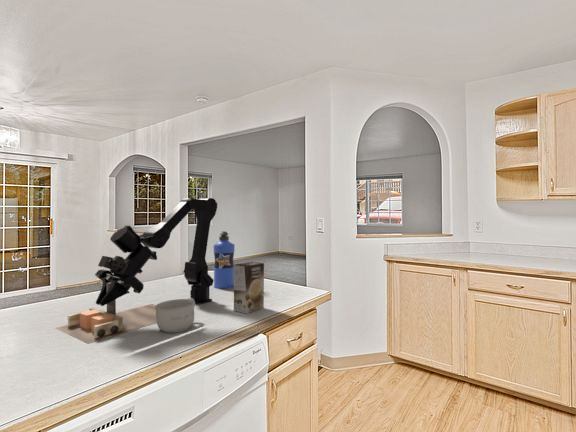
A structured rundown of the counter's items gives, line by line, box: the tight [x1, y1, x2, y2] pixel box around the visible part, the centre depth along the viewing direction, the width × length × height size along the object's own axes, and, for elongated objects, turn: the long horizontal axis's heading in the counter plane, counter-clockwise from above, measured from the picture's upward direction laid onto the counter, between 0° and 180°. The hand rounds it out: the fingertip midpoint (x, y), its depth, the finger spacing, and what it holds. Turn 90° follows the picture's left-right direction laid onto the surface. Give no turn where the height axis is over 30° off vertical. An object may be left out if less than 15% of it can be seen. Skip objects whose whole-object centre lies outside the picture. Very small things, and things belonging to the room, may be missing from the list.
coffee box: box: [233, 261, 265, 314], centre depth 120 cm, size 9×6×16 cm
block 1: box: [79, 310, 101, 329], centre depth 101 cm, size 4×4×4 cm
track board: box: [55, 303, 157, 345], centre depth 106 cm, size 31×20×1 cm, turn 145°
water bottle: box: [213, 231, 235, 290], centre depth 155 cm, size 9×9×25 cm
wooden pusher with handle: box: [67, 282, 123, 338], centre depth 99 cm, size 10×18×12 cm, turn 55°
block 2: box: [91, 314, 113, 332], centre depth 97 cm, size 4×4×4 cm
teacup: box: [155, 297, 196, 334], centre depth 101 cm, size 14×11×8 cm
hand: (98, 304), depth 99 cm, fingers closed on wooden pusher with handle, 2 cm apart
